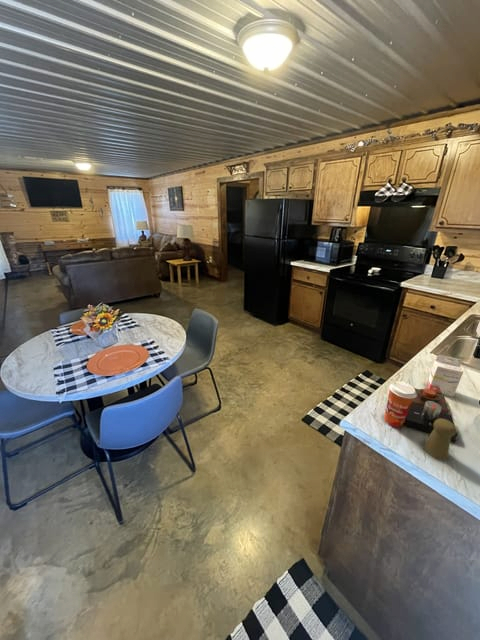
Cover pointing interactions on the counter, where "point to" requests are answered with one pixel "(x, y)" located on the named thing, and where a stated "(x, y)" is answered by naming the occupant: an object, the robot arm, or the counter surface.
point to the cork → (440, 439)
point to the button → (429, 393)
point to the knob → (431, 411)
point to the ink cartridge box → (445, 375)
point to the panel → (424, 421)
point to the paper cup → (399, 403)
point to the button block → (437, 399)
